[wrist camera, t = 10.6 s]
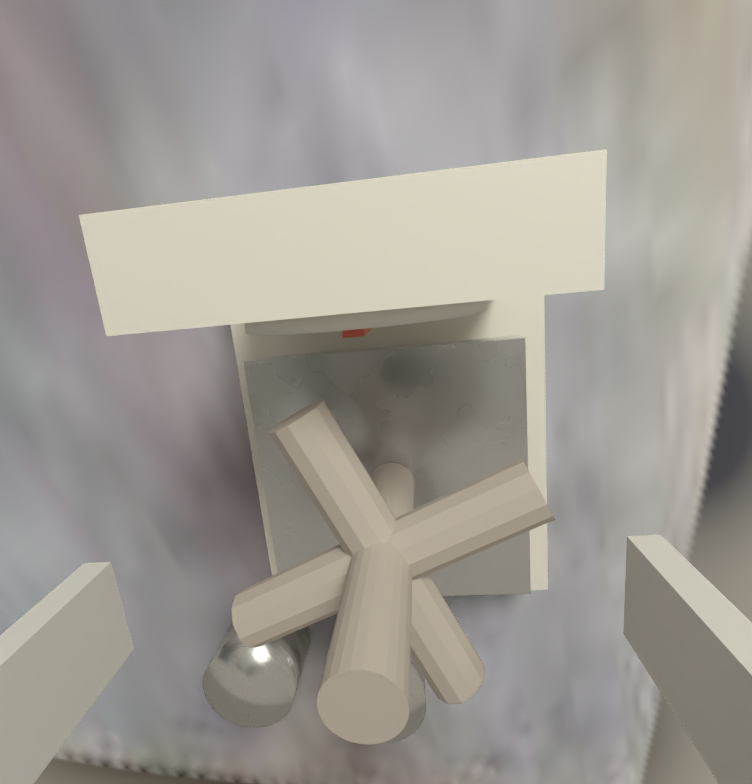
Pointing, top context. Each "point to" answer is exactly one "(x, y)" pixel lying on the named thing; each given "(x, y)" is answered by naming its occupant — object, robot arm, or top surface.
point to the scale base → (365, 270)
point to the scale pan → (401, 436)
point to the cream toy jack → (382, 576)
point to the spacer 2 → (414, 703)
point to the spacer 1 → (255, 678)
